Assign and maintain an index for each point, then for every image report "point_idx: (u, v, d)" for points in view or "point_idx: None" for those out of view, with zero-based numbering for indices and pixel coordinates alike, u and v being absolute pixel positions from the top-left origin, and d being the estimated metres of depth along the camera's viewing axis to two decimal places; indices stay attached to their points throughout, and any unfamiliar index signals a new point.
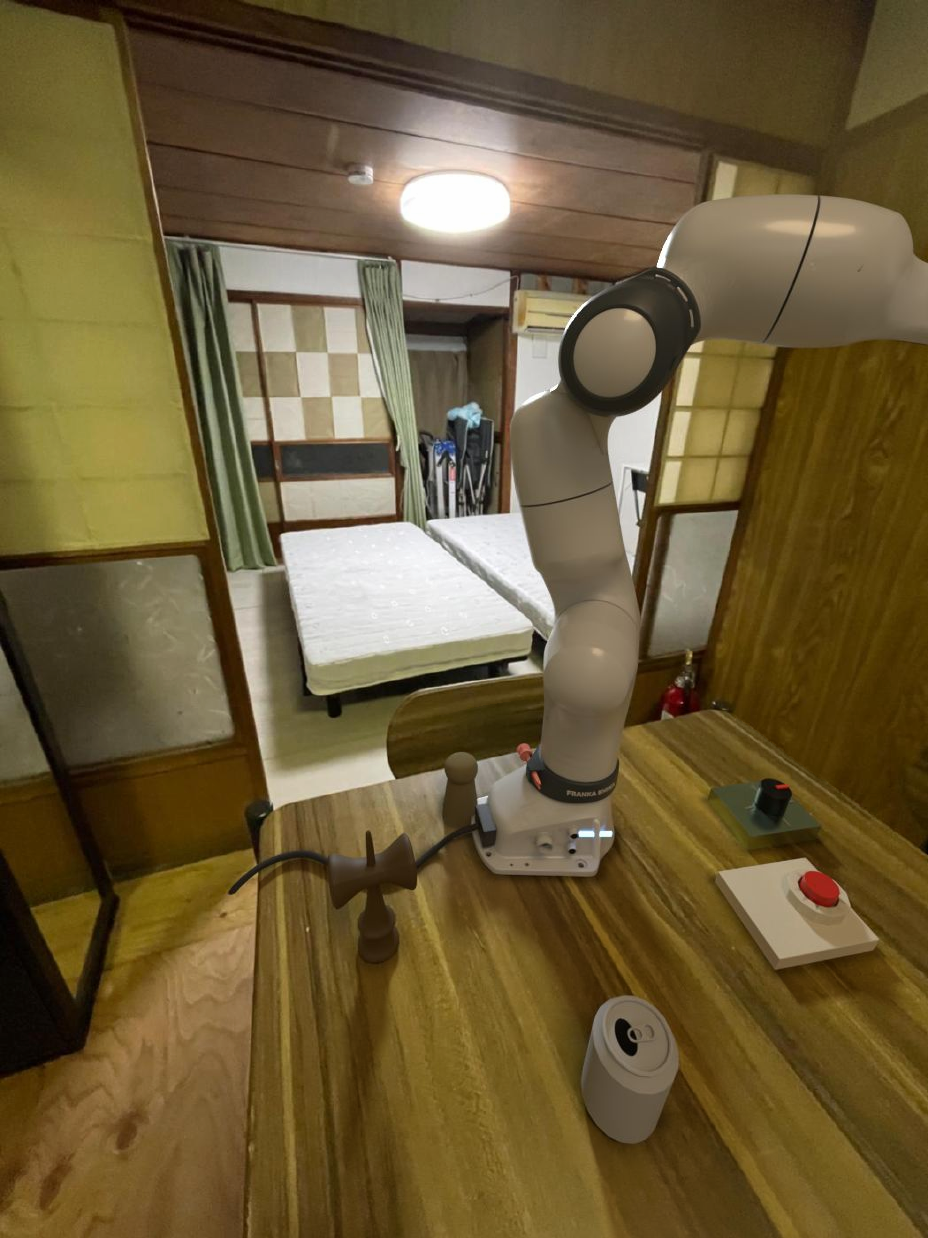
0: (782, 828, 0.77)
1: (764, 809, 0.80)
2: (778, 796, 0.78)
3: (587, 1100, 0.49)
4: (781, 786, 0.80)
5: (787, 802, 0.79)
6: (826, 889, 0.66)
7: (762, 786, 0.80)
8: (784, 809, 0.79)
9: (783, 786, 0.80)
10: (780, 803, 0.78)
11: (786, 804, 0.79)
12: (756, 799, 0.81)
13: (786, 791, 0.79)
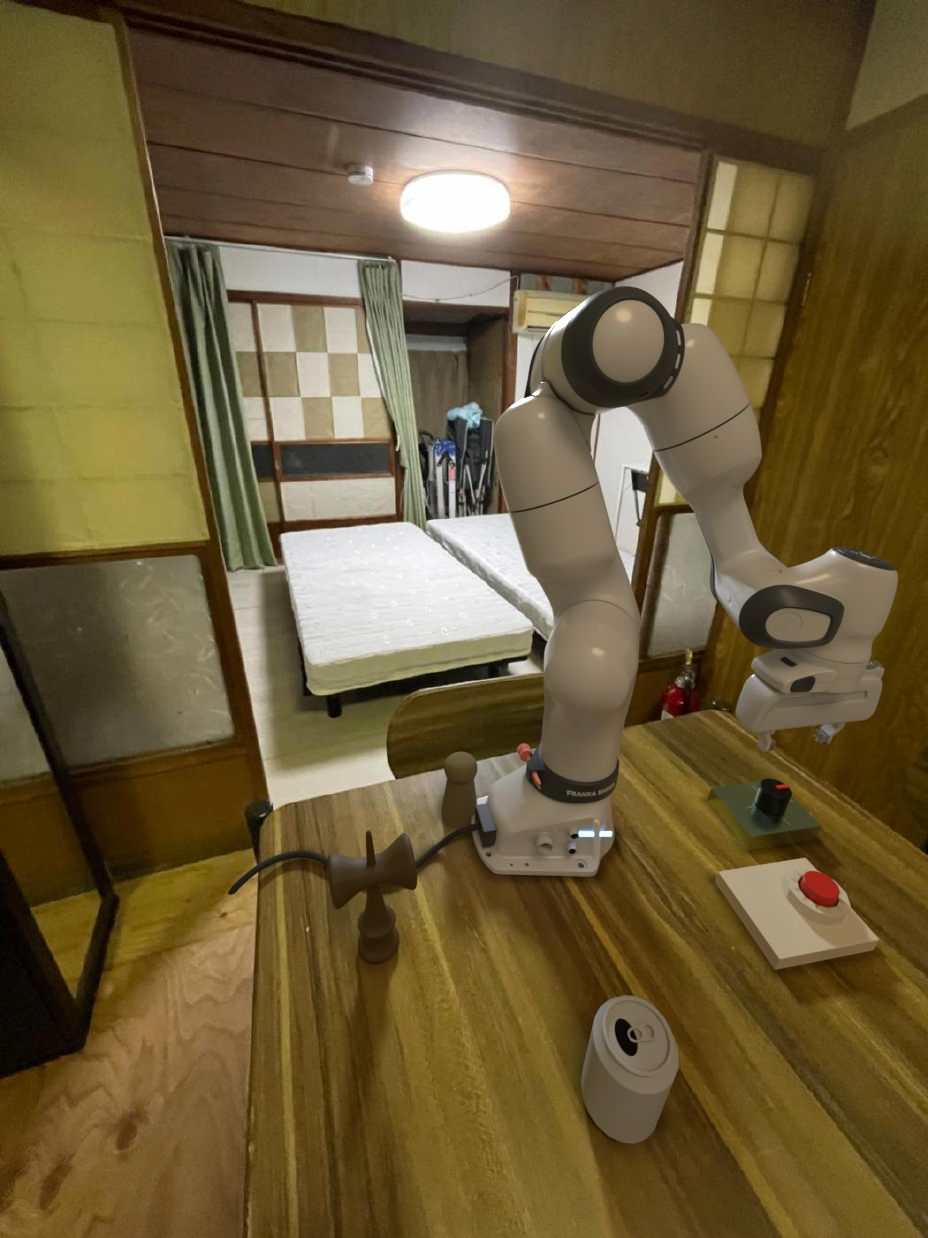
0: (782, 828, 0.77)
1: (764, 809, 0.80)
2: (778, 796, 0.78)
3: (587, 1100, 0.49)
4: (781, 786, 0.80)
5: (787, 802, 0.79)
6: (826, 889, 0.66)
7: (762, 786, 0.80)
8: (784, 809, 0.79)
9: (783, 786, 0.80)
10: (780, 803, 0.78)
11: (786, 804, 0.79)
12: (756, 799, 0.81)
13: (786, 791, 0.79)
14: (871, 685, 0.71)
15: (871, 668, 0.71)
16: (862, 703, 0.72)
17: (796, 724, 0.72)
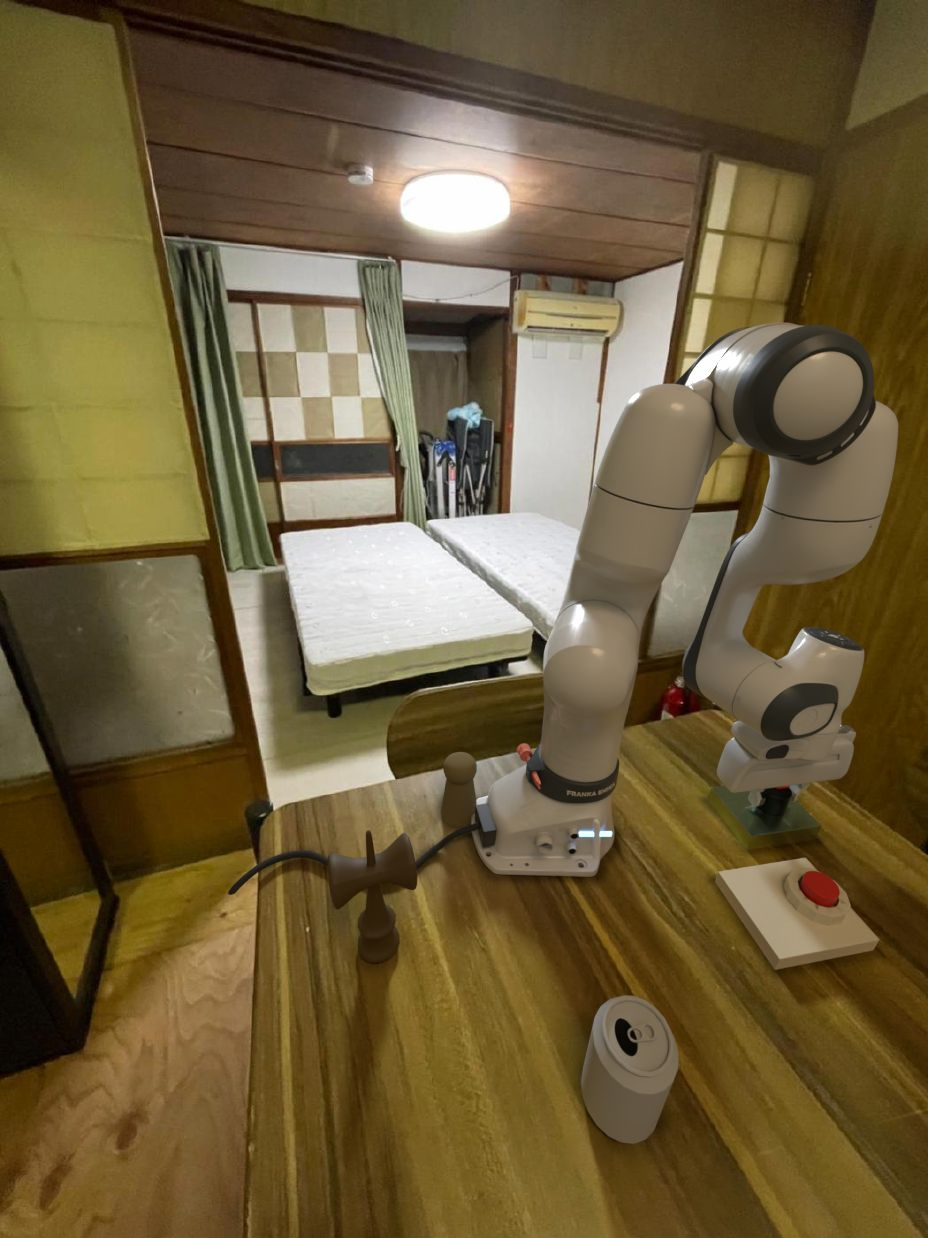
0: (782, 828, 0.77)
1: (764, 809, 0.80)
2: (778, 796, 0.78)
3: (587, 1100, 0.49)
4: None
5: (787, 802, 0.79)
6: (826, 889, 0.66)
7: None
8: (784, 809, 0.79)
9: (783, 786, 0.80)
10: (780, 803, 0.78)
11: (786, 804, 0.79)
12: None
13: (786, 791, 0.79)
14: (843, 748, 0.76)
15: (843, 732, 0.76)
16: (835, 764, 0.77)
17: (773, 784, 0.76)
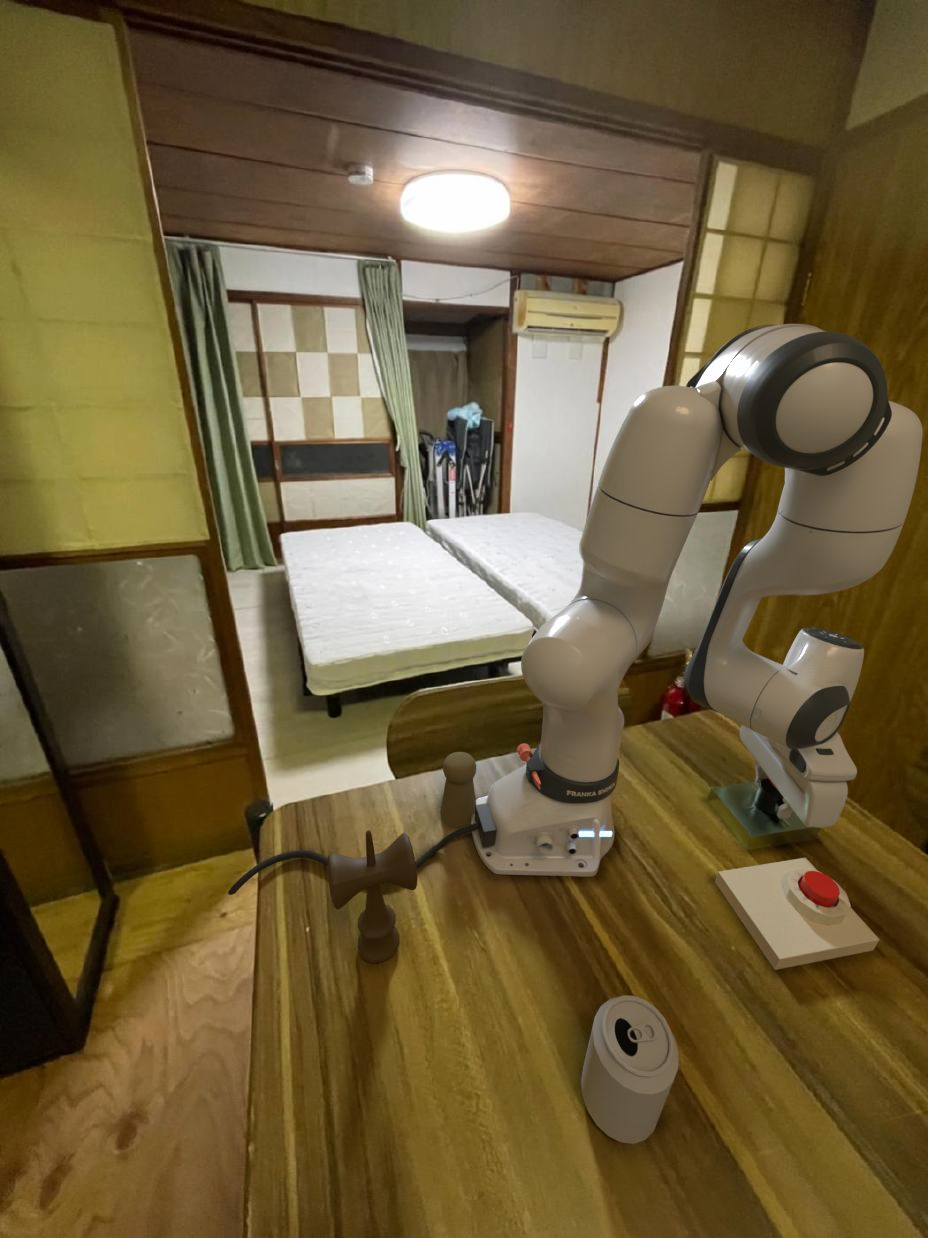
0: (782, 828, 0.77)
1: None
2: None
3: (587, 1100, 0.49)
4: None
5: None
6: (826, 889, 0.66)
7: (777, 797, 0.78)
8: None
9: None
10: None
11: None
12: (773, 811, 0.79)
13: None
14: None
15: None
16: None
17: None
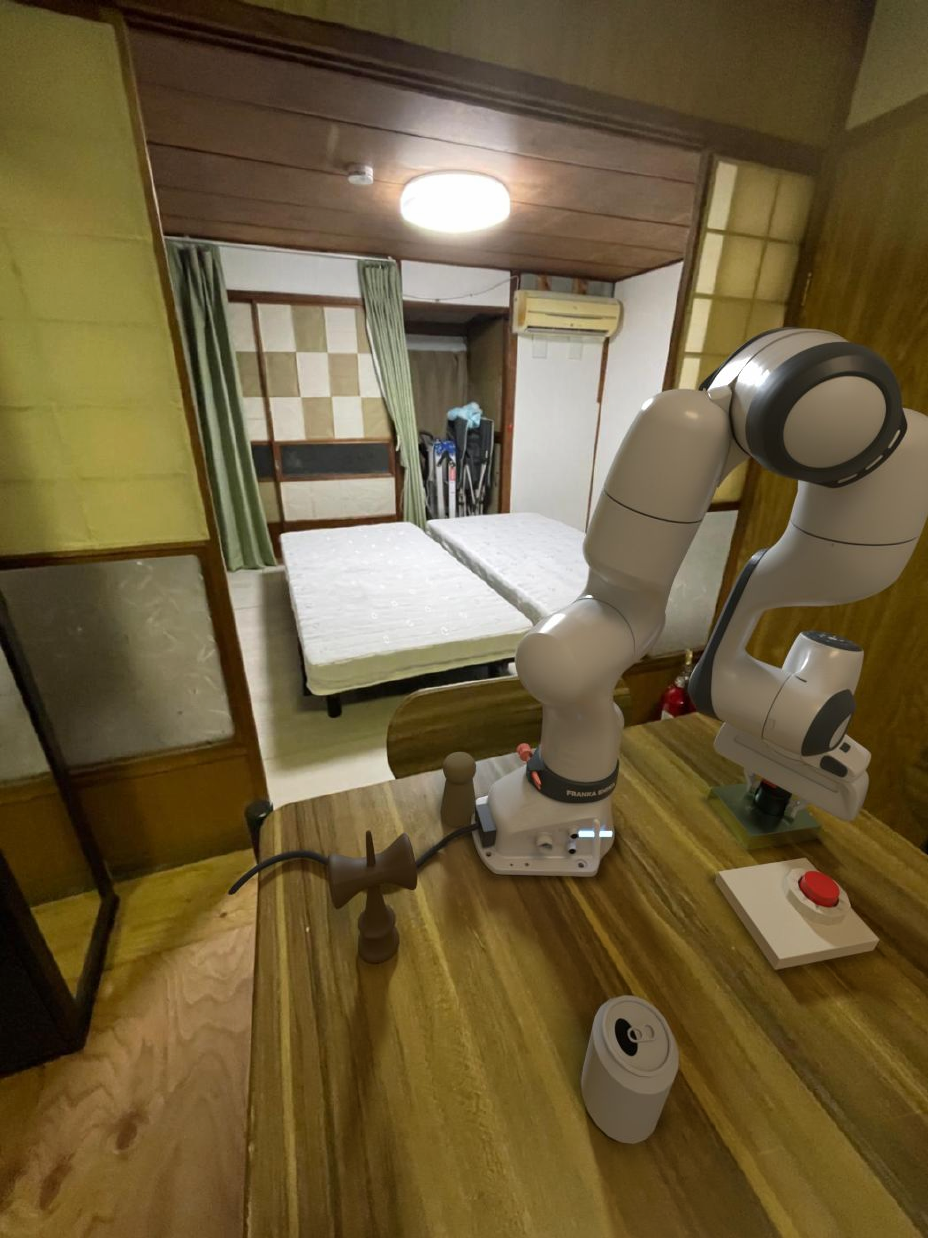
0: (782, 828, 0.77)
1: None
2: None
3: (587, 1100, 0.49)
4: (771, 783, 0.80)
5: None
6: (826, 889, 0.66)
7: (786, 797, 0.78)
8: None
9: (769, 782, 0.81)
10: None
11: None
12: (782, 811, 0.79)
13: None
14: None
15: None
16: None
17: None
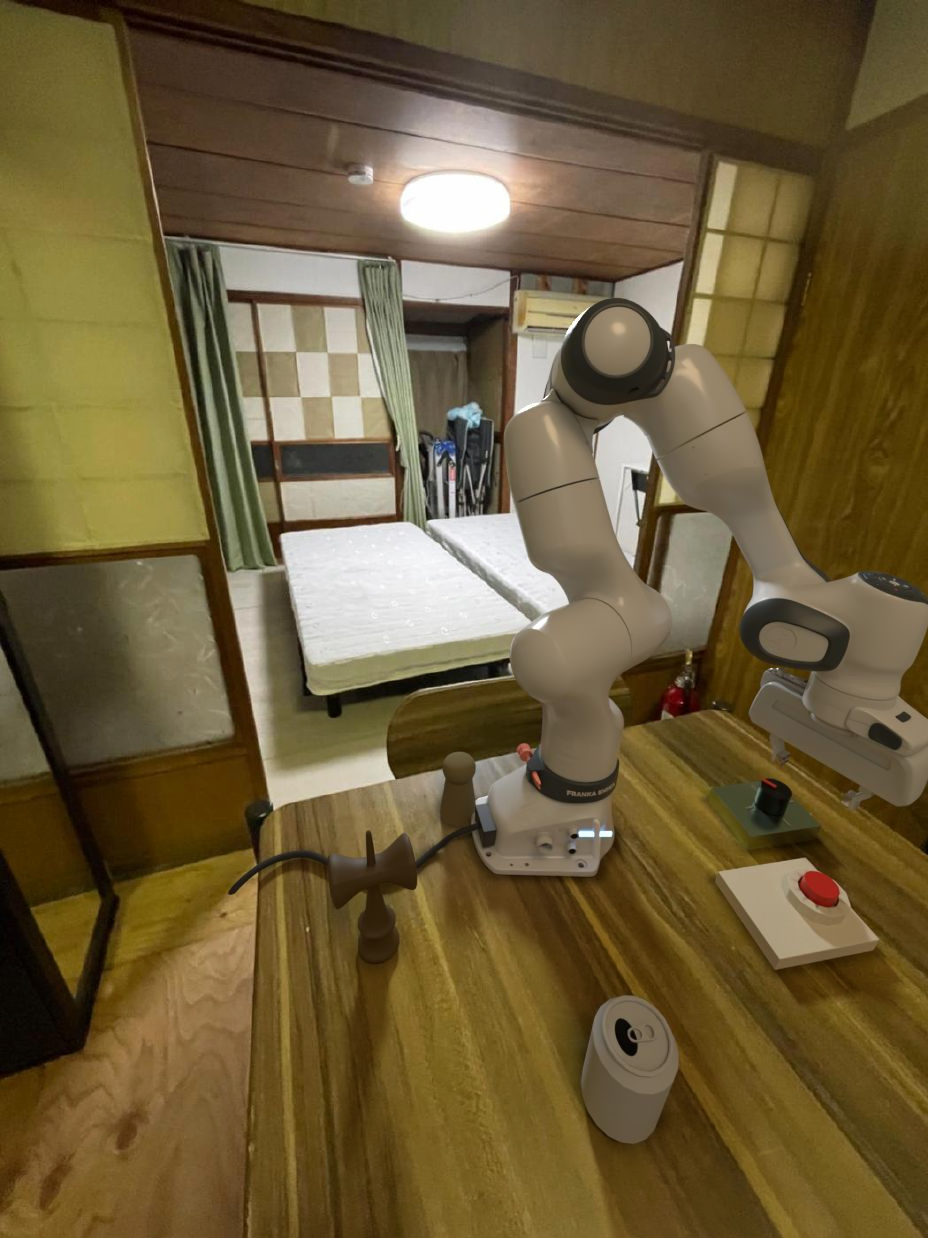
0: (782, 828, 0.77)
1: None
2: (786, 787, 0.80)
3: (587, 1100, 0.49)
4: (771, 783, 0.80)
5: None
6: (826, 889, 0.66)
7: (786, 797, 0.78)
8: None
9: (769, 782, 0.81)
10: None
11: None
12: (782, 811, 0.79)
13: (771, 781, 0.81)
14: None
15: None
16: None
17: None
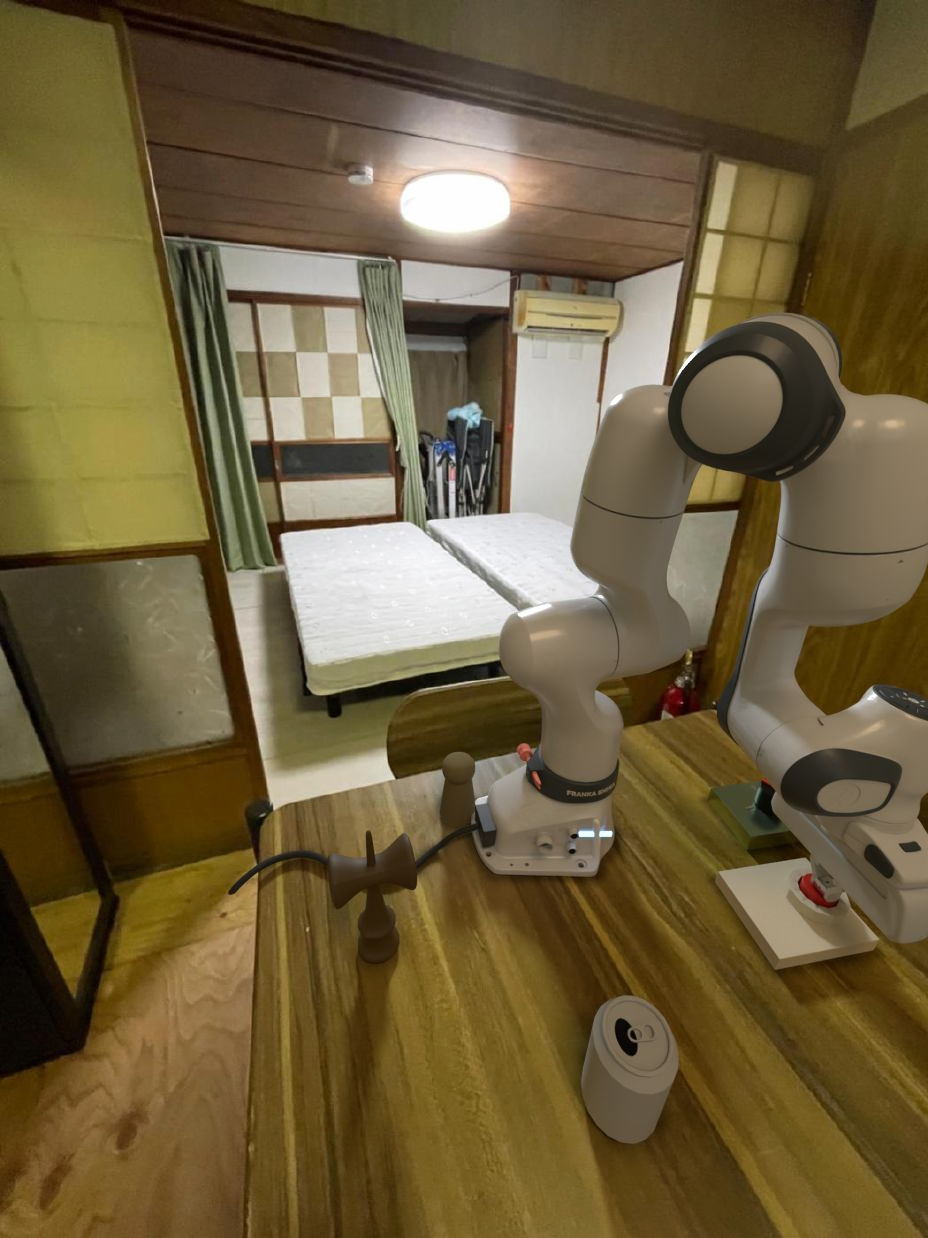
0: (782, 828, 0.77)
1: None
2: None
3: (587, 1100, 0.49)
4: None
5: None
6: None
7: None
8: None
9: None
10: None
11: None
12: None
13: None
14: None
15: None
16: None
17: None
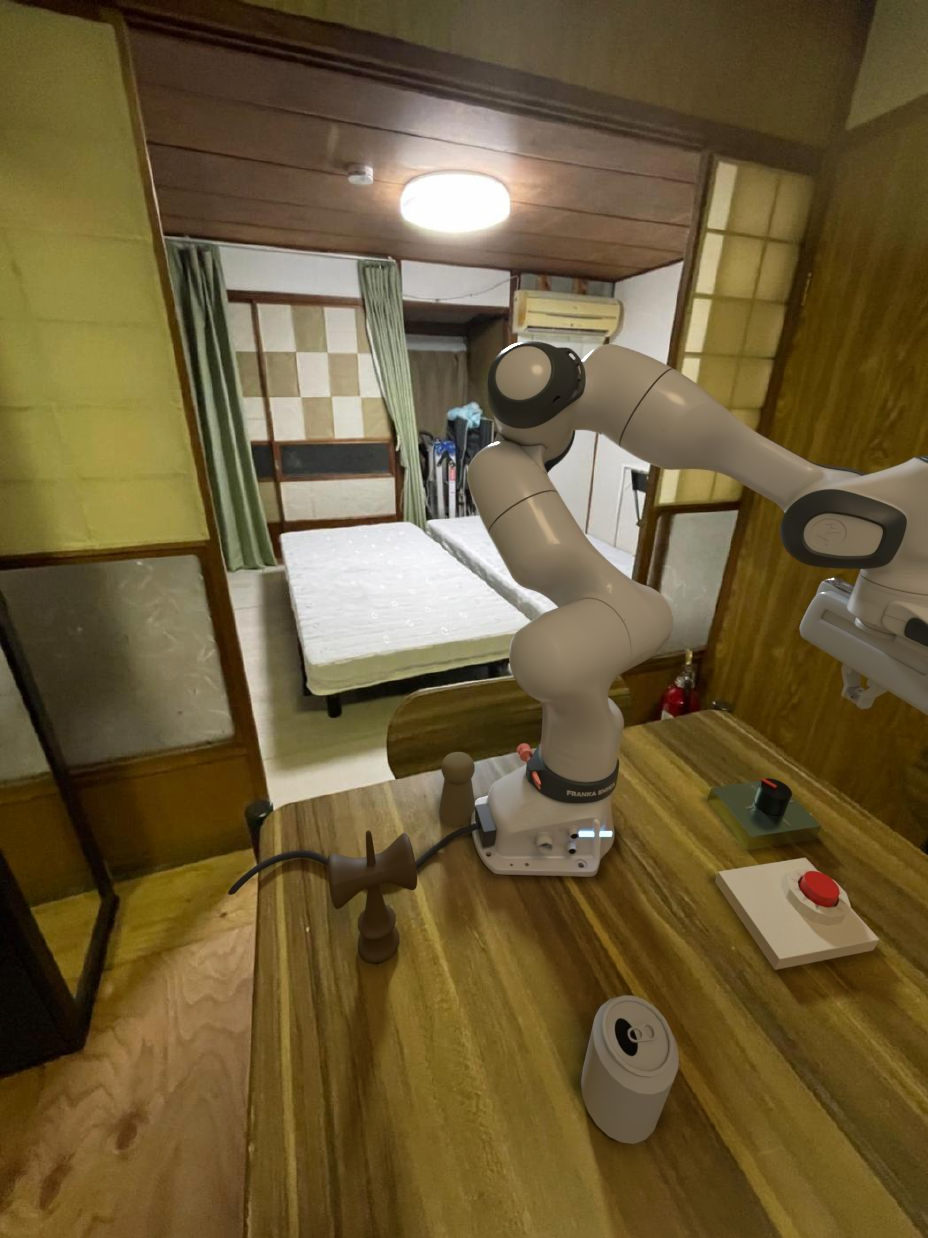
0: (782, 828, 0.77)
1: None
2: (786, 787, 0.80)
3: (587, 1100, 0.49)
4: (771, 783, 0.80)
5: None
6: (826, 889, 0.66)
7: (786, 797, 0.78)
8: None
9: (769, 782, 0.81)
10: None
11: None
12: (782, 811, 0.79)
13: (771, 781, 0.81)
14: None
15: None
16: None
17: None
